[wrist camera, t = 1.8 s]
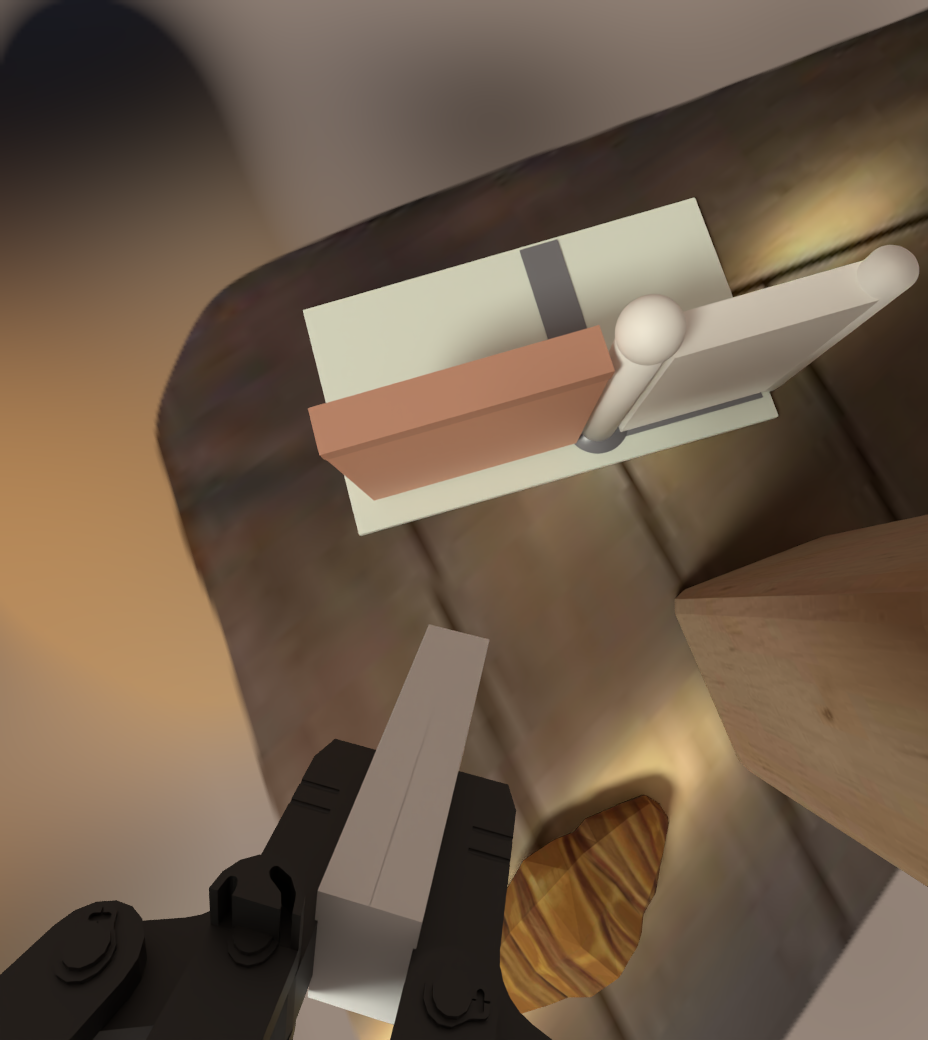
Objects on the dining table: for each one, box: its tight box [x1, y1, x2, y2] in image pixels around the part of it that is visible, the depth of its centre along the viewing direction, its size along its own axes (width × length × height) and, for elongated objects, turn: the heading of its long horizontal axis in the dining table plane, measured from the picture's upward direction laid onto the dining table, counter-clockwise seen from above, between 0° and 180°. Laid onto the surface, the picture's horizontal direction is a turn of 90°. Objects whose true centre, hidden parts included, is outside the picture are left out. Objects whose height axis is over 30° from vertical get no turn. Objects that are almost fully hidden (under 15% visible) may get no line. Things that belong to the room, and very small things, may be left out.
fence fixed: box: [582, 245, 919, 441], centre depth 27 cm, size 12×3×13 cm, turn 106°
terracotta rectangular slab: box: [308, 325, 615, 501], centre depth 28 cm, size 12×2×10 cm, turn 106°
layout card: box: [303, 198, 778, 536], centre depth 34 cm, size 25×14×1 cm, turn 106°
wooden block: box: [675, 515, 928, 887], centre depth 21 cm, size 10×10×20 cm
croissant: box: [500, 795, 669, 1013], centre depth 28 cm, size 14×7×5 cm, turn 135°
